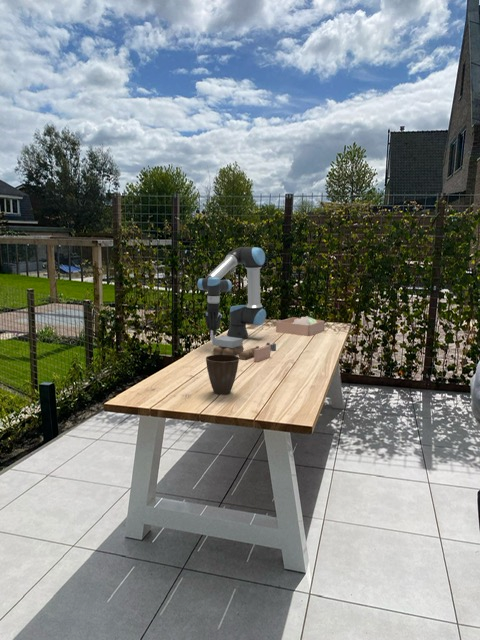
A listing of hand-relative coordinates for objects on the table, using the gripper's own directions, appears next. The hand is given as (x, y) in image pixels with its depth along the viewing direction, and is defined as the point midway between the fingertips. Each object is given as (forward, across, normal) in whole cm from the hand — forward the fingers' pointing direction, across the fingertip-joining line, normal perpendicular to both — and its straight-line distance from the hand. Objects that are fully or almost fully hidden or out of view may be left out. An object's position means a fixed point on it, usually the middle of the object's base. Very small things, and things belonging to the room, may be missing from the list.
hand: (212, 340), depth 306 cm
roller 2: (+7, +15, 0) cm, 17 cm away
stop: (+7, +36, 0) cm, 36 cm away
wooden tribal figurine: (+7, +12, +104) cm, 105 cm away
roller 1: (+7, +8, 0) cm, 11 cm away
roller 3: (+7, +26, 0) cm, 27 cm away
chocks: (+7, +18, 0) cm, 19 cm away
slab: (+2, +11, 0) cm, 11 cm away
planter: (+7, +13, +101) cm, 102 cm away
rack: (+7, +28, +18) cm, 34 cm away
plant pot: (+7, +52, -68) cm, 86 cm away
